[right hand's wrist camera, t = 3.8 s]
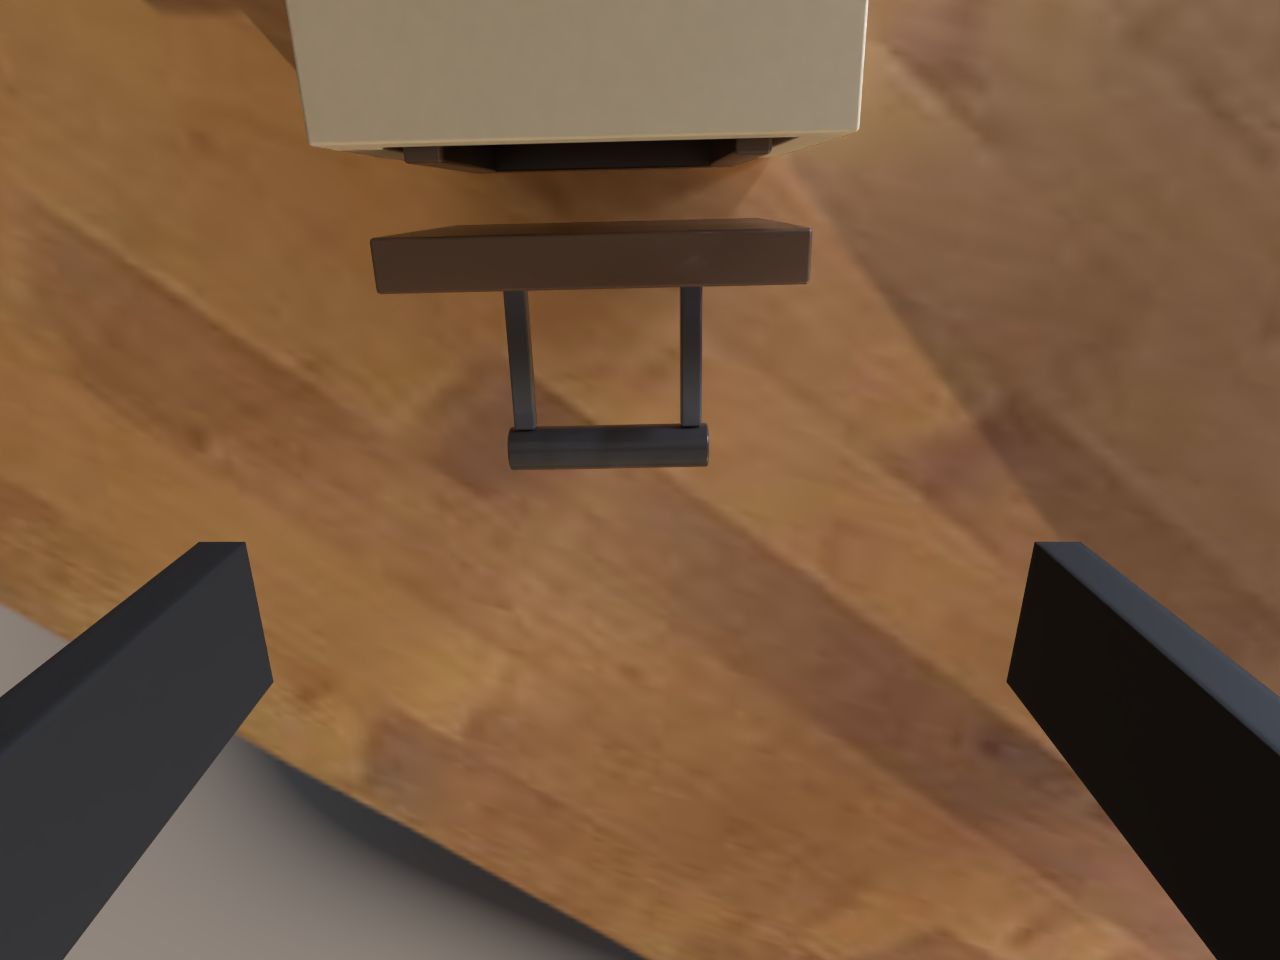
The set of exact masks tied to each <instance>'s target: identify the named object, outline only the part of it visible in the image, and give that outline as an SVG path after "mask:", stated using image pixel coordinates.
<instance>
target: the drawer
mask: <svg viewBox="0 0 1280 960" xmlns="http://www.w3.org/2000/svg"><path fill="white" fill-rule="evenodd" d="M771 150H772V138H734V139H694V140H655V141H616V142H577V143H537V144H498V145H459V146H420V147H403V152H404V160H405V162H406V163H408V164H415V165H422V166H429V167H436V168H443V169H450V170H457V171H464V172H471V173H515V172H555V171H595V170H635V169H675V168H715V167H733V166H736V165H738V164H741V163H744V162H747V161H750V160H753V159H756V158H759V157H761V156H764V155H767V154H769V153H771ZM370 246H371V253H372V261H373V268H374V275H375V282H376V289H377V292H378V293H380V294H400V293H444V292H487V291H503V294H504V306H505V318H506V330H507V342H508V353H509V365H510V377H511V389H512V401H513V413H514V425H515V427H512V428H510V430H509V434H508V459H509V464H510V467H511V469H512V470H553V469H603V468H653V467H703V466H708V462H709V433H708V426H707V424H706V423H701V414H702V287H704V286H748V285H791V284H807V283H809V281H810V266H811V247H812V229H811V228H808V227H803V226H797V225H792V224H786V223H781V222H776V221H770V220H765V219H759V218H744V219H703V220H661V221H620V222H578V223H537V224H495V225H456V226H450V227H443V228H437V229H430V230H423V231H417V232H410V233H403V234H397V235H390V236H383V237H377V238H372V239H371V240H370ZM661 287H680V421H681V424H639V425H590V426H542V427H536V425H537V413H536V399H535V386H534V372H533V358H532V345H531V331H530V317H529V304H528V291H530V290H574V289H617V288H661Z"/></svg>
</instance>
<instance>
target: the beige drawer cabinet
mask: <svg viewBox="0 0 1280 960" xmlns="http://www.w3.org/2000/svg"><path fill="white" fill-rule="evenodd" d="M285 3H286V9H287V15H288V22H289V28H290V34H291V40H292V46H293V52H294V59H295V65H296V71H297V77H298V83H299V90H300V96H301V102H302V108H303V114H304V120H305V127H306V133H307V139H308V143H309V145H311V146H314V147H321V148H327V149H332V150H338V151H345V152H352V153H358V154H365V155H371V156H378V157H384V158H391V159H397V160H404V152H403V147H420V146H459V145H498V144H537V143H577V142H616V141H655V140H694V139H734V138H772V150H771V153H769V154H767V155H764V156H761V157H759V158H769V157H776V156H781V155H784V154H787V153H790V152H794V151H797V150H800V149H803V148H807V147H810V146H813V145H816V144H820V143H823V142H826V141H830V140H833V139H836V138H839V137H843V136H845V135H848V134H851V133H855V132H857V131H858V129H859V125H860V111H861V97H862V83H863V69H864V55H865V41H866V27H867V13H868V0H285ZM404 161H405V160H404Z"/></svg>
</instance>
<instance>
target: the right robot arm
mask: <svg viewBox="0 0 1280 960" xmlns="http://www.w3.org/2000/svg"><path fill="white" fill-rule="evenodd" d="M272 683H273V677H272V672H271V667H270V662H269V657H268V653H267V648H266V643H265V638H264V633H263V628H262V623H261V618H260V613H259V608H258V603H257V598H256V593H255V588H254V583H253V578H252V573H251V568H250V563H249V558H248V553H247V548H246V543H245V542H199V543H197V544H196V545H195V546H193V547H192V548H191V549H190V550H188V551H187V552H186V553H185V554H183V555H182V556H181V557H179V558H178V559H177V560H176V561H174V562H173V563H172V564H170V565H169V566H168V567H167V568H165V569H164V570H163V571H161V572H160V573H159V574H158V575H156V576H155V577H154V578H152V579H151V580H150V581H149V582H147V583H146V584H145V585H144V586H142V587H141V588H140V589H138V590H137V591H136V592H135V593H133V594H132V595H131V596H129V597H128V598H127V599H126V600H124V601H123V602H122V603H120V604H119V605H118V606H117V607H115V608H114V609H113V610H112V611H110V612H109V613H108V614H106V615H105V616H104V617H103V618H101V619H100V620H99V621H97V622H96V623H95V624H94V625H92V626H91V627H90V628H88V629H87V630H86V631H85V632H83V633H82V634H81V635H79V636H78V637H77V638H76V639H74V640H73V641H72V642H71V643H69V644H68V645H67V646H65V647H64V648H63V649H62V650H60V651H59V652H58V653H56V654H55V655H54V656H53V657H51V658H50V659H49V660H47V661H46V662H45V663H44V664H42V665H41V666H40V667H39V668H37V669H36V670H35V671H33V672H32V673H31V674H30V675H28V676H27V677H26V678H24V679H23V680H22V681H21V682H19V683H18V684H17V685H15V686H14V687H13V688H12V689H10V690H9V691H8V692H6V693H5V694H4V695H3V696H1V697H0V960H63V959H64V958H65V956H66V955H67V954H68V952H69V951H70V950H71V948H72V947H73V946H74V945H75V943H76V942H77V941H78V939H79V938H80V937H81V935H82V934H83V933H84V931H85V930H86V929H87V927H88V926H89V925H90V923H91V922H92V921H93V919H94V918H95V917H96V915H97V914H98V913H99V912H100V910H101V909H102V908H103V906H104V905H105V904H106V902H107V901H108V900H109V898H110V897H111V896H112V894H113V893H114V892H115V890H116V889H117V888H118V886H119V885H120V884H121V882H122V881H123V880H124V879H125V877H126V876H127V874H128V873H129V872H130V871H131V869H132V868H133V867H134V865H135V864H136V863H137V861H138V860H139V859H140V857H141V856H142V855H143V853H144V852H145V851H146V849H147V848H148V847H149V845H150V844H151V843H152V841H153V840H154V839H155V838H156V836H157V835H158V834H159V832H160V831H161V830H162V828H163V827H164V826H165V824H166V823H167V822H168V820H169V819H170V818H171V816H172V815H173V814H174V812H175V811H176V810H177V809H178V807H179V806H180V804H181V803H182V802H183V801H184V799H185V798H186V797H187V795H188V794H189V793H190V791H191V790H192V789H193V787H194V786H195V785H196V783H197V782H198V781H199V779H200V778H201V777H202V776H203V774H204V773H205V772H206V770H207V769H208V768H209V766H210V765H211V764H212V762H213V761H214V760H215V758H216V757H217V756H218V754H219V753H220V752H221V750H222V749H223V748H224V746H225V745H226V744H227V742H228V741H229V740H230V739H231V737H232V736H233V735H234V733H235V732H236V731H237V729H238V728H239V727H240V725H241V724H242V723H243V721H244V720H245V719H246V717H247V716H248V715H249V713H250V712H251V711H252V709H253V708H254V707H255V706H256V704H257V703H258V702H259V700H260V699H261V698H262V696H263V695H264V694H265V692H266V691H267V690H268V688H269V687H270V686H271V684H272ZM1007 683H1008V684H1009V686H1010V687H1011V688H1012V690H1013V691H1014V692H1015V694H1016V695H1017V696H1018V698H1019V699H1020V700H1021V702H1022V703H1023V704H1024V706H1025V707H1026V708H1027V709H1028V711H1029V712H1030V713H1031V715H1032V716H1033V717H1034V719H1035V720H1036V721H1037V723H1038V724H1039V725H1040V727H1041V728H1042V729H1043V731H1044V732H1045V733H1046V735H1047V736H1048V737H1049V739H1050V740H1051V741H1052V743H1053V744H1054V745H1055V746H1056V748H1057V749H1058V750H1059V752H1060V753H1061V754H1062V756H1063V757H1064V758H1065V760H1066V761H1067V762H1068V764H1069V765H1070V766H1071V768H1072V769H1073V770H1074V772H1075V773H1076V774H1077V776H1078V777H1079V778H1080V779H1081V781H1082V782H1083V783H1084V785H1085V786H1086V787H1087V789H1088V790H1089V791H1090V793H1091V794H1092V795H1093V797H1094V798H1095V799H1096V801H1097V802H1098V803H1099V805H1100V806H1101V807H1102V809H1103V810H1104V811H1105V812H1106V814H1107V815H1108V816H1109V818H1110V819H1111V820H1112V822H1113V823H1114V824H1115V826H1116V827H1117V828H1118V830H1119V831H1120V832H1121V834H1122V835H1123V836H1124V838H1125V839H1126V840H1127V842H1128V843H1129V844H1130V845H1131V847H1132V848H1133V849H1134V851H1135V852H1136V853H1137V855H1138V856H1139V857H1140V859H1141V860H1142V861H1143V863H1144V864H1145V865H1146V867H1147V868H1148V869H1149V871H1150V872H1151V873H1152V875H1153V876H1154V877H1155V879H1156V880H1157V881H1158V882H1159V884H1160V885H1161V886H1162V888H1163V889H1164V890H1165V892H1166V893H1167V894H1168V896H1169V897H1170V898H1171V900H1172V901H1173V902H1174V904H1175V905H1176V906H1177V908H1178V909H1179V910H1180V912H1181V913H1182V914H1183V915H1184V917H1185V918H1186V919H1187V921H1188V922H1189V923H1190V925H1191V926H1192V927H1193V929H1194V930H1195V931H1196V933H1197V934H1198V935H1199V937H1200V938H1201V939H1202V941H1203V942H1204V943H1205V945H1206V946H1207V947H1208V948H1209V950H1210V951H1211V952H1212V954H1213V955H1214V956H1215V958H1216V959H1217V960H1280V697H1279V696H1277V695H1276V694H1275V693H1274V692H1272V691H1271V690H1270V689H1268V688H1267V687H1266V686H1265V685H1263V684H1262V683H1261V682H1259V681H1258V680H1257V679H1256V678H1254V677H1253V676H1252V675H1250V674H1249V673H1248V672H1247V671H1245V670H1244V669H1243V668H1241V667H1240V666H1239V665H1238V664H1236V663H1235V662H1234V661H1233V660H1231V659H1230V658H1229V657H1227V656H1226V655H1225V654H1224V653H1222V652H1221V651H1220V650H1218V649H1217V648H1216V647H1215V646H1213V645H1212V644H1211V643H1209V642H1208V641H1207V640H1206V639H1204V638H1203V637H1202V636H1201V635H1199V634H1198V633H1197V632H1195V631H1194V630H1193V629H1192V628H1190V627H1189V626H1188V625H1186V624H1185V623H1184V622H1183V621H1181V620H1180V619H1179V618H1177V617H1176V616H1175V615H1174V614H1172V613H1171V612H1170V611H1168V610H1167V609H1166V608H1165V607H1163V606H1162V605H1161V604H1160V603H1158V602H1157V601H1156V600H1154V599H1153V598H1152V597H1151V596H1149V595H1148V594H1147V593H1145V592H1144V591H1143V590H1142V589H1140V588H1139V587H1138V586H1136V585H1135V584H1134V583H1133V582H1131V581H1130V580H1129V579H1128V578H1126V577H1125V576H1124V575H1122V574H1121V573H1120V572H1119V571H1117V570H1116V569H1115V568H1113V567H1112V566H1111V565H1110V564H1108V563H1107V562H1106V561H1104V560H1103V559H1102V558H1101V557H1099V556H1098V555H1097V554H1095V553H1094V552H1093V551H1092V550H1090V549H1089V548H1088V547H1087V546H1085V545H1084V544H1083V543H1081V542H1035V543H1034V548H1033V553H1032V558H1031V563H1030V568H1029V573H1028V578H1027V583H1026V588H1025V593H1024V598H1023V603H1022V608H1021V613H1020V618H1019V623H1018V628H1017V633H1016V638H1015V643H1014V648H1013V653H1012V657H1011V662H1010V667H1009V672H1008V677H1007Z"/></svg>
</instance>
